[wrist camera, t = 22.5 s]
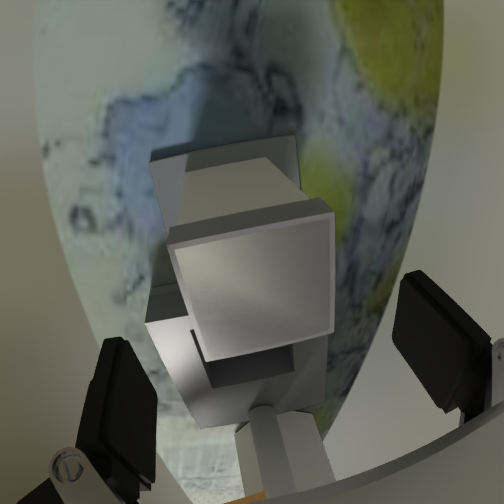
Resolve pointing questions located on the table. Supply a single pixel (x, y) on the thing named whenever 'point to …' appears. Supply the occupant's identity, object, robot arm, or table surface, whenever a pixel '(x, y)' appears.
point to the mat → (174, 167)
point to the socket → (233, 368)
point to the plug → (253, 259)
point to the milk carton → (288, 454)
